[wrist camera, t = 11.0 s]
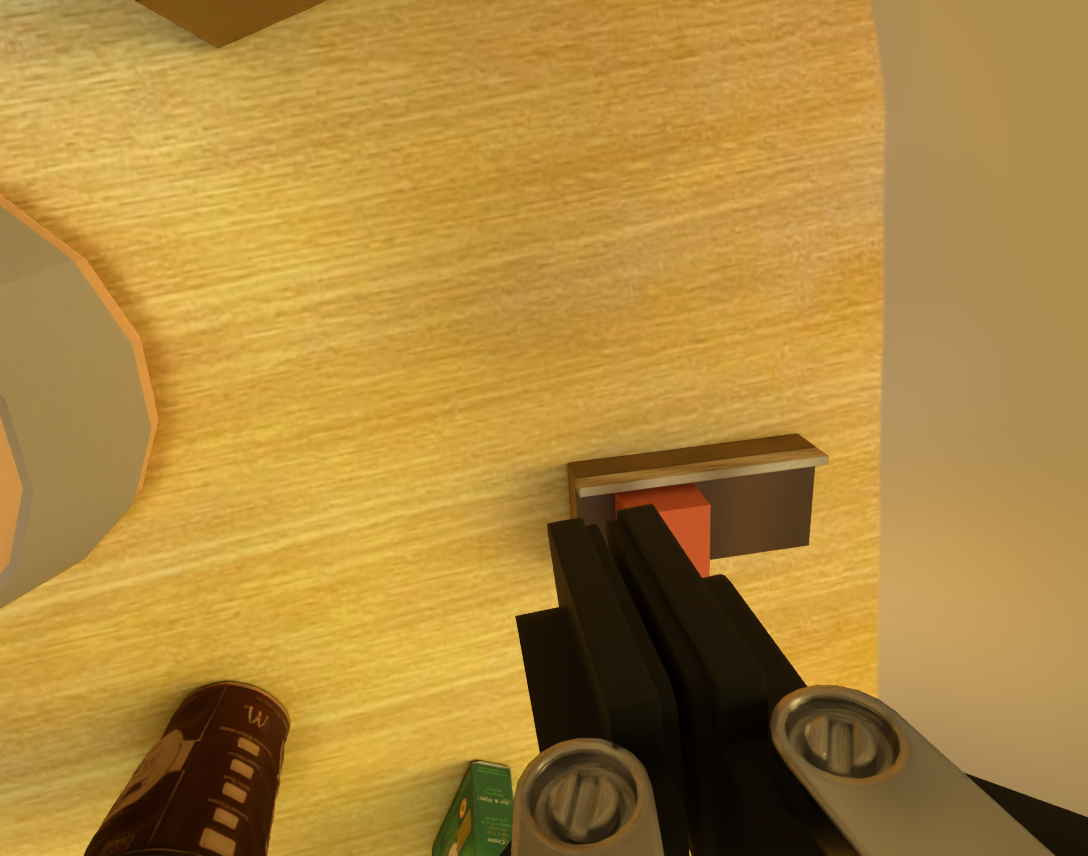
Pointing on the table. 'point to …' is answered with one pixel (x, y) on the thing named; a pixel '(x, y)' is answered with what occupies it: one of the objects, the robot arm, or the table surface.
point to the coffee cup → (204, 780)
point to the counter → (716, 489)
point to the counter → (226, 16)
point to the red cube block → (678, 517)
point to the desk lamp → (63, 407)
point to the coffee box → (479, 814)
